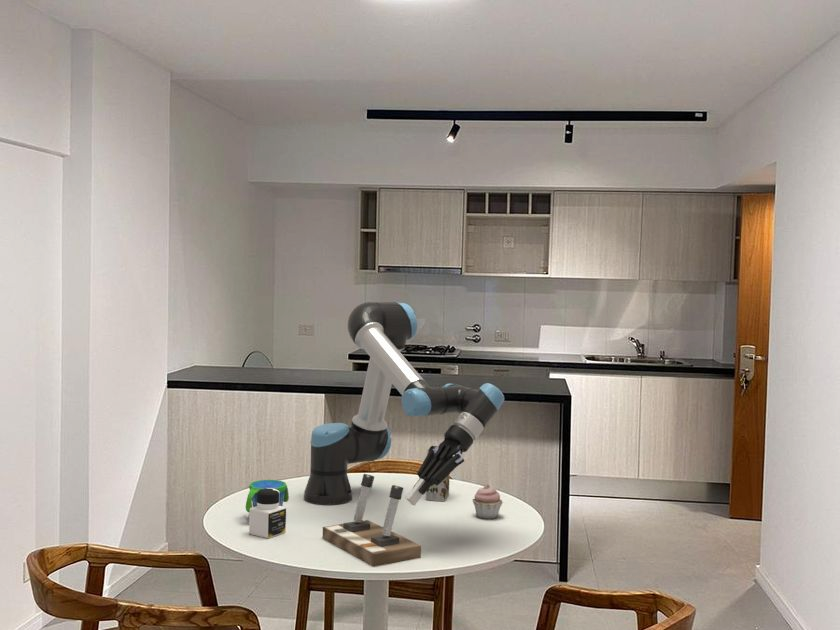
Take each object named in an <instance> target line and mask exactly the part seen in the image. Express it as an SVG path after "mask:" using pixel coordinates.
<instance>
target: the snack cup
mask: <svg viewBox="0 0 840 630" xmlns="http://www.w3.org/2000/svg"><path fill="white" fill-rule="evenodd" d="M287 485H288V484H287V483H286V482H285V481H282V480H278V479H260V480H255V481H252V482H251V483H249V485H248V487H249V491H248V494H247V497H246V502H245V511H246V512H247V513H249V514H250V508H252V507H256V506H258V505H257V492H258V491H259V490H261V489H265V488H273V489H276V490H278V491H279V492H280V498H279V505H278V506H283V507H284V503H287V502H288V501H289V499H290V498H289V497H290V496H289V489H288V486H287Z"/></svg>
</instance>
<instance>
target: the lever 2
mask: <svg viewBox="0 0 840 630" xmlns="http://www.w3.org/2000/svg"><path fill="white" fill-rule="evenodd" d="M403 491H404V487H403V486H400V485H396V484H391V488H390V493H389V495H388V497H389V499H390V500H389V502H388V507H387V510H386V515H385V519H384V523H383V526H382V527H383V530H382V534H383V535H385V536H390V534H391V531H393V530H392V529H393V525H394V523H395V522H394V521H395V517H396V515H397V514H396V513H397V510H398V505H399V502H400V500H401V499H402V495H403Z"/></svg>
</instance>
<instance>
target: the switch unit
mask: <svg viewBox="0 0 840 630" xmlns="http://www.w3.org/2000/svg"><path fill="white" fill-rule="evenodd" d="M382 530H383V526H381V525H379V524H377V523H375V522H372V521H371V520H369V519H365V520H364V519H362V522H356V521H354V520H353V521H350V522H343V523H339V524H333V525H327V526H323V527H322V539H323V538H324V540H325V541H327V542H329V543H331V544H332V543H333V544H332V545H334V546H336V547H338V548H339V549H341V550H344V551H345V552H347V553H348V554H350V553H351V554H350V555H352V556H354V557H356V558H358V559H359V560H361V559H362V561H363V560H364V561H363V562H366V563H367V564H369V565H370V564H371V565H370V566H371V567H372V566H373V567H376V566H382V565H388V564H392V563H398V562H402V561H409V560H412V559H417V558H421V557H422V545H421V544H419V543H417V542H414V541H413V540H410V539H408V538H406V537H404V536H402V535H400V534H398V533H396V532H394V531H393V530H391V534H390V536H385V535H383V534H382Z"/></svg>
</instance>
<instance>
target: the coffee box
mask: <svg viewBox="0 0 840 630" xmlns="http://www.w3.org/2000/svg"><path fill="white" fill-rule="evenodd" d="M433 446H434V448H435V447H438V446H439V445H433ZM428 453H429V449H427V453H426V456H427V455H428ZM450 475H451V473H450V474H449V475H448V476H447V477H446V478H445V479H444V480H443V481H442V482H441V483H440V484H439V485H437V486H436V485H435V484H434V485H433V486H430V487H429V489H428V490H427V491H426V493H425V501H435V502H436V501H437V502H445V501H446V499H447V498H448V497H449V495H450ZM437 480H438V479H437Z"/></svg>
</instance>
